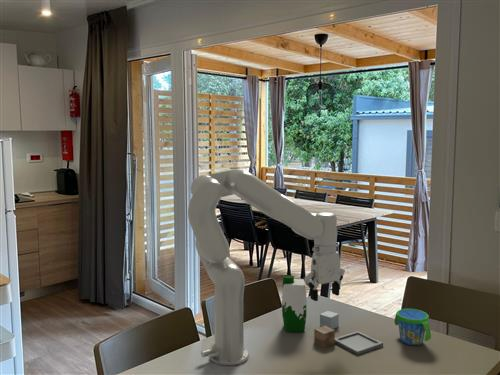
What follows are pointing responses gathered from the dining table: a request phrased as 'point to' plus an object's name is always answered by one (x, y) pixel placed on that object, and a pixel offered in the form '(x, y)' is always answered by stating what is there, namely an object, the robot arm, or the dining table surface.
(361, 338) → the tray
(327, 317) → the bluegrey block
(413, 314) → the snack cup
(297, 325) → the soya milk
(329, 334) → the oak cube
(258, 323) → the dining table surface
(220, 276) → the robot arm
